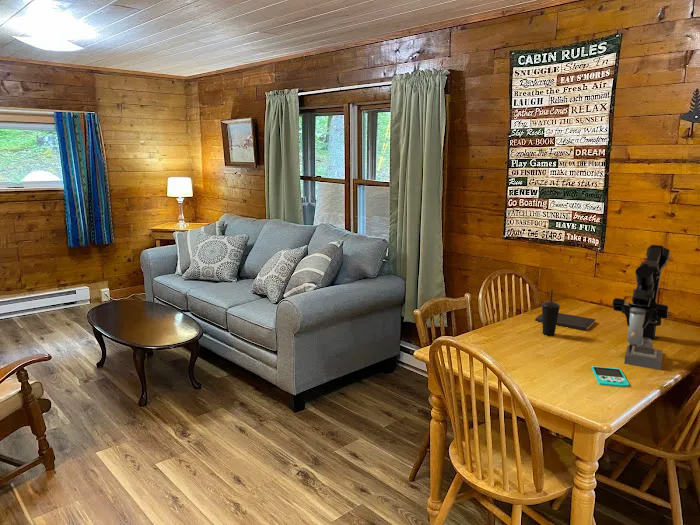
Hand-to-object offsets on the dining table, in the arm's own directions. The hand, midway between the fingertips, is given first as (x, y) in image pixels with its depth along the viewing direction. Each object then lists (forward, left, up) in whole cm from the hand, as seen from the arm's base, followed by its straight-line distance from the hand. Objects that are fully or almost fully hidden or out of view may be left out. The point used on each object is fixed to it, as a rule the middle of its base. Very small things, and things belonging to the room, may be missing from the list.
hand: (635, 326), depth 203 cm
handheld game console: (+21, +10, -14) cm, 27 cm away
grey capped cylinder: (0, 0, -7) cm, 7 cm away
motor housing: (-6, 0, -13) cm, 15 cm away
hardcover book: (-11, -48, -14) cm, 51 cm away
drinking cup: (+9, -36, -14) cm, 39 cm away
